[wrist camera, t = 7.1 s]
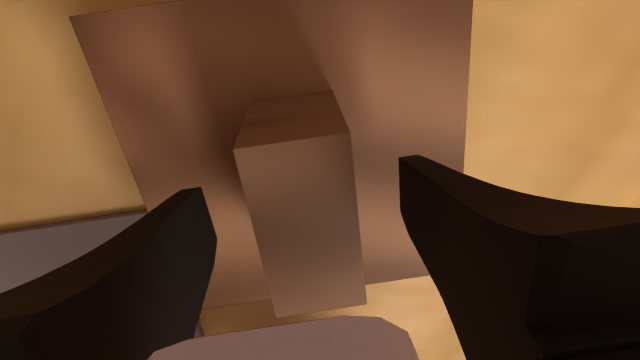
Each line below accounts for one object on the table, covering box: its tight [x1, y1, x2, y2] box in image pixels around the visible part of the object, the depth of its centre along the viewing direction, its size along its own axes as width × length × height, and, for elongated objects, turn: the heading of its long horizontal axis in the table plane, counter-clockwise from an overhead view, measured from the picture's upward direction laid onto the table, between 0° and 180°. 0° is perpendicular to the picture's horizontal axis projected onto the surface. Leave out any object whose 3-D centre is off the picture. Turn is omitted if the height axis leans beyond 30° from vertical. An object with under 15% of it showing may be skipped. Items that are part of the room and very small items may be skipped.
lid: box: [69, 0, 473, 318], centre depth 13 cm, size 13×13×6 cm
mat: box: [0, 210, 204, 338], centre depth 25 cm, size 16×16×1 cm
